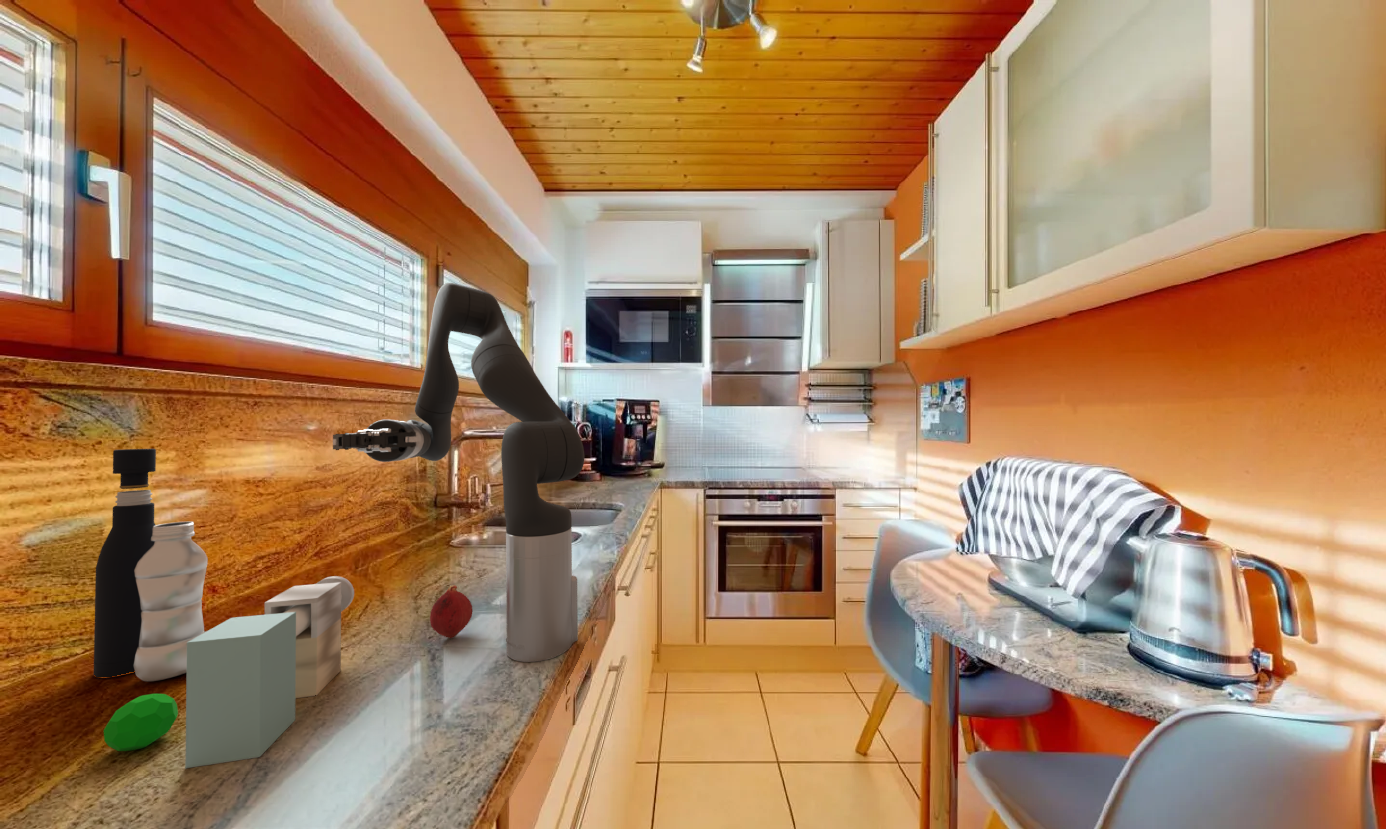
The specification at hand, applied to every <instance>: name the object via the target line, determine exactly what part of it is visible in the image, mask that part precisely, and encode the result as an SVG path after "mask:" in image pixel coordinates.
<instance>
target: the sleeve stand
mask: <svg viewBox="0 0 1386 829" xmlns="http://www.w3.org/2000/svg"><path fill="white" fill-rule="evenodd" d="M300 604H311V626H309V627H308V628H307V629H305V630H304V631H303V632H301V633H300V634H299V635H297V636H296V679H295V699H300V698H307V697H316V696H317V695H318V694H320V692H322V691H323V689H325V687H326V686H328V684H329V683H330V682H331V681H332V680H333V679H334V678H335V677H336V676H337V675H338V674H339V673H341V671H342V669H341V668H342V665H341V664H342V662H341V660H342V612H341V582H337V583H325V584H316V583H314V584H301V585H293V586H292V587H290V588H288V589H286V590H284V591H283V592H280V593H279V594H277V595H275V596H273V597H272V598H271V599H268V600H267V601H265V602H264V615H267V614H278V613H284V612H285V611H287V610H288V609H290V608H292V607H293V606H295V605H300ZM315 695H316V696H315Z"/></svg>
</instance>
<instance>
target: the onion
mask: <svg viewBox="0 0 1386 829" xmlns="http://www.w3.org/2000/svg"><path fill="white" fill-rule="evenodd" d="M457 589H458V586H457V585H455V584H453V585H450V586H449V587H448V588H447V590H446V592H444V593H443V594H442V595H440V596H439V597H438V598H437V600H436V601H435V602H434V603H433V605H432V607H431V610H430V614H429V621H430V627H431V628H432V630H433V631H435V633H437V634H439V635H440V636H443V637H445V638H448V639H453V638H456V636H457V635H459V633H460V632H461V631H463V630H465V628H466V627H467V626H468V624H469V623H470V620H472V619H471V618H472V617H473V616H472V615H473V605H472V602H471V601H470V599H469V598H468V596H467V595H466V594H464V593H463V592H460V591H458V590H457Z"/></svg>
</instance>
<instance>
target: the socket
mask: <svg viewBox="0 0 1386 829" xmlns="http://www.w3.org/2000/svg"><path fill="white" fill-rule="evenodd" d="M185 679H186V683H185V684H186V688H185V689H186V692H185V694H186V696H185V697H186V698H185V754H184V755H185V762H184V765H185V767H184V769H189V768H195V767H203V766H210V765H216V764H222V763H223V764H224V763H229V762H235V761H241V760H248V759H255V758H260V757H261V756H262V755H263V754H264V753H265V752H266V751H267V750H268V749H269V748H270V747H271V746H272V745H273V744H274V743H275V741H277V739H279V738H280V737H281V735H282V734H283V733H284V732H285V731H286V730H287V729H288V728H289V727H290V726H291V725H292V724H293V723H294V722H295V721H296V698H295V679H296V612H289V613H278V614H267V615H265V614H257V615H246V616H237V617H229V619H226V620H225V621H223V622H221V623H220V624H218V625H216V626H214V627H213V628H210V629H209V630H206V631H205V633H203V634H201V635H199V636H198V637H196V638H194V639H192V640H190V641H189V642H187V673H186V678H185Z"/></svg>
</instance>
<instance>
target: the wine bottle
mask: <svg viewBox="0 0 1386 829" xmlns="http://www.w3.org/2000/svg"><path fill="white" fill-rule="evenodd" d="M112 455H113V456H112V474H113V475H115V474H116V475H117V474H119V475H120V483H119V484H120V485H119V489H120V490H121V489H122V490H125V491H118V492H117V493H116V496H115V498H116V500H115V501H114V502H115V503H116V505H114V506H113V507H112V523H111V524H112V525H111V526H112V527H111V529H110V531H109V533H108V535H107V537H106V538H105V540H104V542H103V544H102V546H101V549H100V552H99V555H98V558H97V563H96V566H95V579H94V580H95V583H94V586H95V587H94V588H95V589H94V591H95V593H94V595H95V596H94V629H93V630H94V635H93V636H94V637H93V638H94V639H93V644H94V645H93V676H94V675H95V676H96V677H112V676H117V675H121V674H126V673H129V672H134V671H135V670H134V666H133V665H134V660H135V655H136V651H137V648H138V646H139V638H140V630H141V622H142V619H141V612H142V610H141V606H140V596H139V592H138V587H137V583H136V577H135V572H134V570H135V568H136V565H137V563H138V561H139V560H140V559H141V558H142V557H143V555H144V554H145V553H146V552H147V551H148V550H149V549H150V548H151V547H152V546H153V545H154V542H155V541H151V537H152V533H153V526H156V525H157V524H156V523H155V503H154V502H152V500H153V498H152V497H151V496H152V495H153V492H151V489H143V488H148V487H149V485H150V484H149V473H155V472H156V471H157V470H156V469H157V468H156V467H157V466H156V463H157V462H156V460H157V449H156V448H130V449H128V448H125V449H124V448H123V449H113V452H112ZM140 488H141V490H139V489H140ZM130 489H131V490H130ZM132 489H137V490H132Z"/></svg>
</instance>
